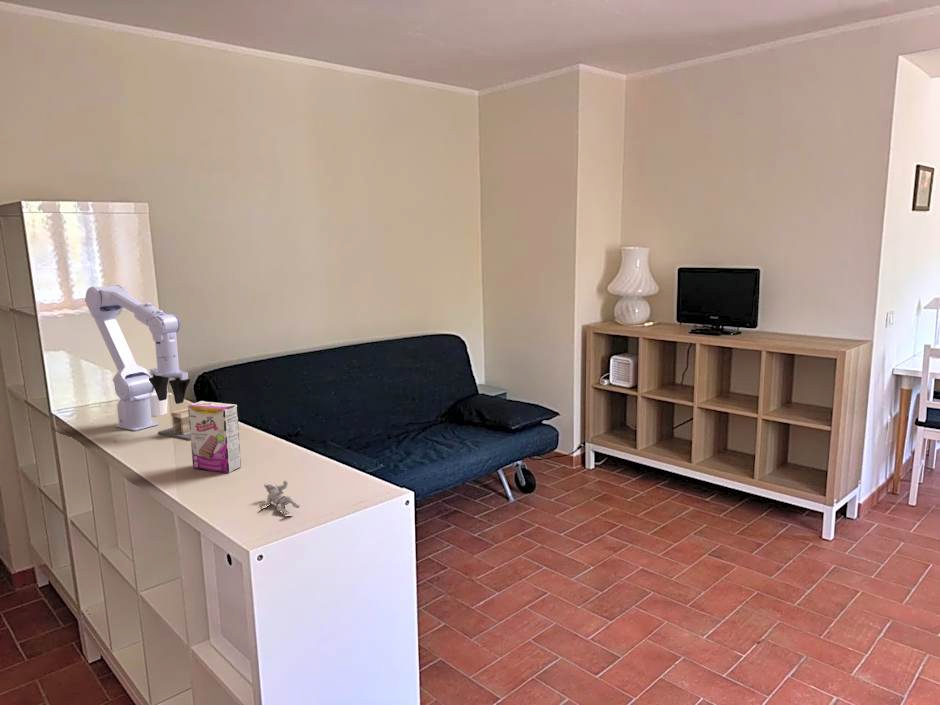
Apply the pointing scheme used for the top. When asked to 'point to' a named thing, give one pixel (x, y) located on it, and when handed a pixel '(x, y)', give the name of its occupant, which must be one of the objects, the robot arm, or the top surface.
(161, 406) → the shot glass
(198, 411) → the candy bar box
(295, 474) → the top surface
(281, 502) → the grey creature figurine
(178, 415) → the two-pronged tan block
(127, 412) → the robot arm
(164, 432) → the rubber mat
